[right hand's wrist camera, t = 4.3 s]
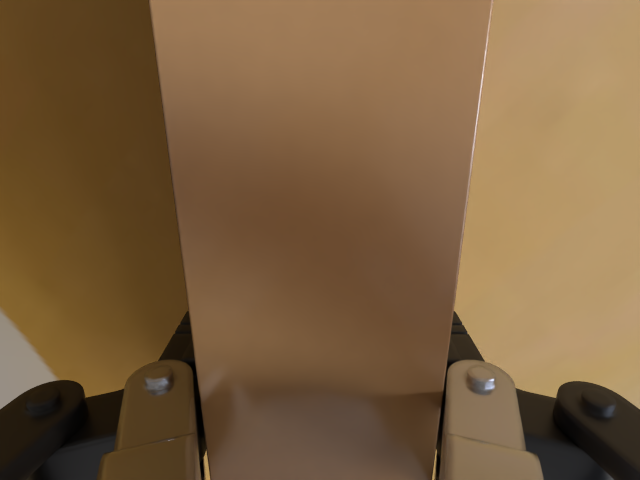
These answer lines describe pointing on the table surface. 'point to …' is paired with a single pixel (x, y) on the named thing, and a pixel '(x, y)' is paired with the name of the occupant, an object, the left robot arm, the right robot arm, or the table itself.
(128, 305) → the table surface
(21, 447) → the right robot arm
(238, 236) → the bar
